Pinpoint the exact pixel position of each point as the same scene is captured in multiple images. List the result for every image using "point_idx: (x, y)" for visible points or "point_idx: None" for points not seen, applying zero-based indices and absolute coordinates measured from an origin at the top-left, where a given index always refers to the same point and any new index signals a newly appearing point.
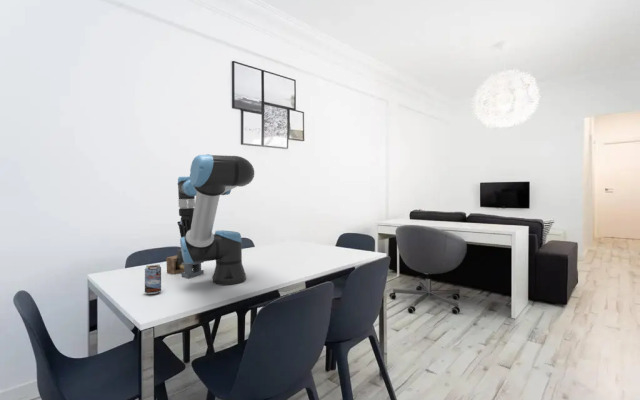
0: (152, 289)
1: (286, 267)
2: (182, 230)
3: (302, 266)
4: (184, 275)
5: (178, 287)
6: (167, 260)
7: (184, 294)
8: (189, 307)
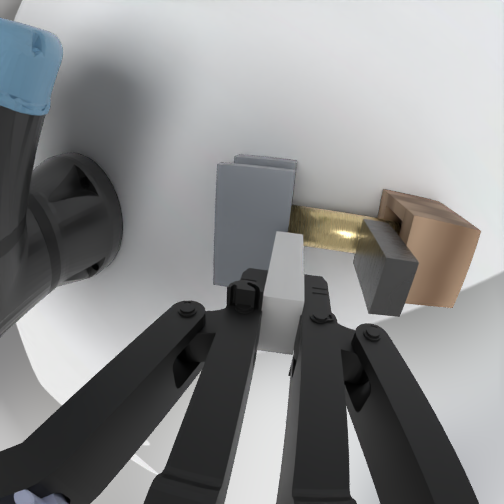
0: None
1: (87, 377)
2: (399, 462)
3: (73, 385)
4: (270, 158)
5: (161, 41)
6: (464, 222)
7: (84, 24)
8: (26, 8)
